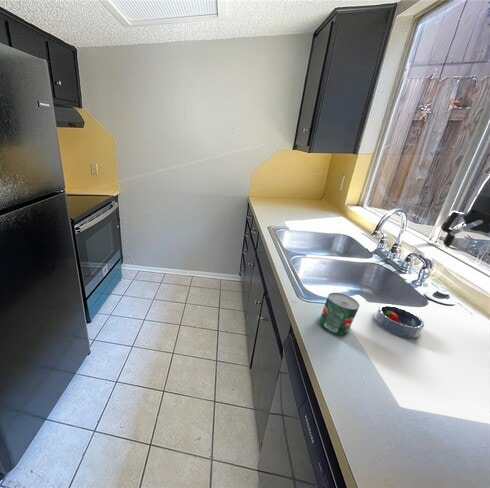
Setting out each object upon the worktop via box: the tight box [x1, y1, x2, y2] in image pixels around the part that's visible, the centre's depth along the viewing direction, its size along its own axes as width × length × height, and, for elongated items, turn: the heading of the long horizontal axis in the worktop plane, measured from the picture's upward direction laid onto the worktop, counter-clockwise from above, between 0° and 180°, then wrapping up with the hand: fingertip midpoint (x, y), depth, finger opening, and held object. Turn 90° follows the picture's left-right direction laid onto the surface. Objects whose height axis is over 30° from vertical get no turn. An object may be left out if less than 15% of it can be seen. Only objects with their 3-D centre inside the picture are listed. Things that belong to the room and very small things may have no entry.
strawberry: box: [384, 311, 399, 323], centre depth 82 cm, size 4×4×4 cm
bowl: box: [373, 304, 425, 339], centre depth 80 cm, size 11×11×5 cm
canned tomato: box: [318, 292, 360, 337], centre depth 77 cm, size 8×8×11 cm
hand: (466, 250), depth 75 cm, fingers open, 8 cm apart
